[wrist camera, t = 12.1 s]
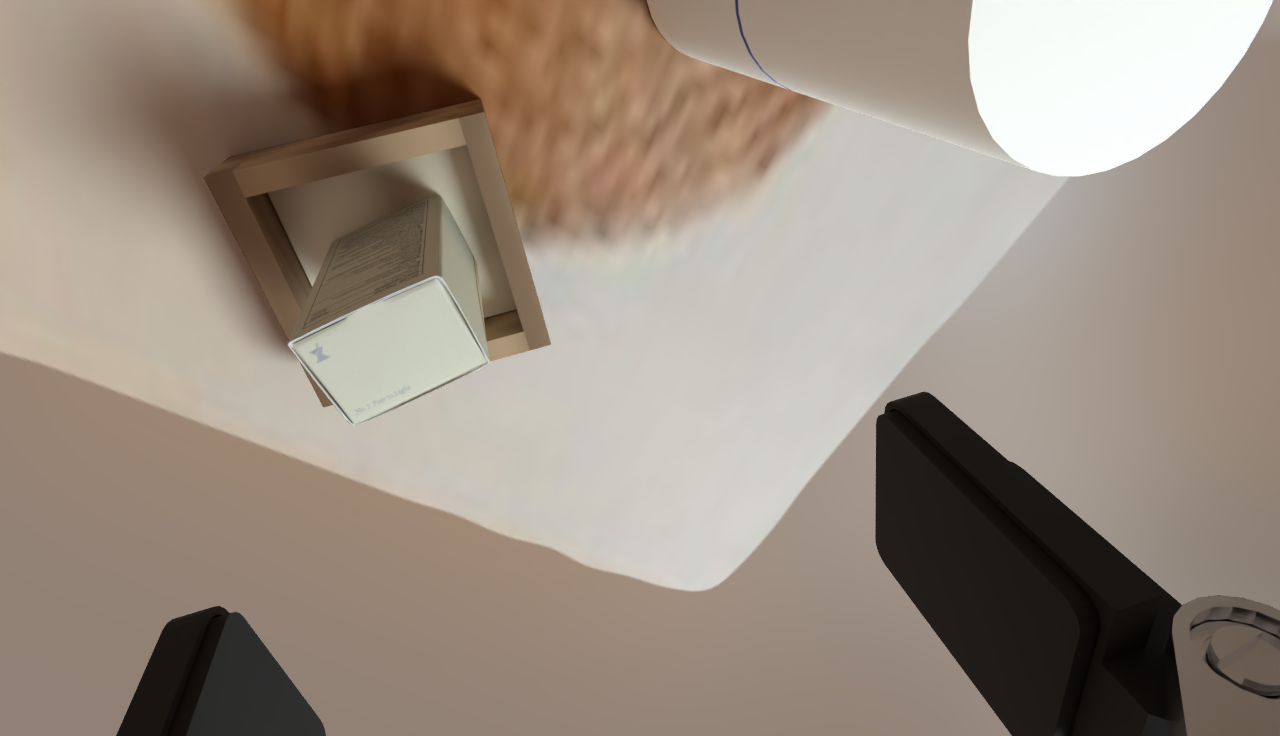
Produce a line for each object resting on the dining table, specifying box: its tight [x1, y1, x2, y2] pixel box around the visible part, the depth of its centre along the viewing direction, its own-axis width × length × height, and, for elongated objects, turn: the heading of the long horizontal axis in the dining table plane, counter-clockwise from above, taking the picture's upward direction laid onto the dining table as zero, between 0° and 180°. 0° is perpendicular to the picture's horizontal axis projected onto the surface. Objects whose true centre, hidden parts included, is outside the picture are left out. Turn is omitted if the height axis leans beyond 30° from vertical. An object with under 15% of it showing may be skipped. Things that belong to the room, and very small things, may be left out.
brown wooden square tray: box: [204, 99, 551, 407], centre depth 35 cm, size 12×12×4 cm
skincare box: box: [287, 195, 489, 426], centre depth 31 cm, size 6×4×12 cm
